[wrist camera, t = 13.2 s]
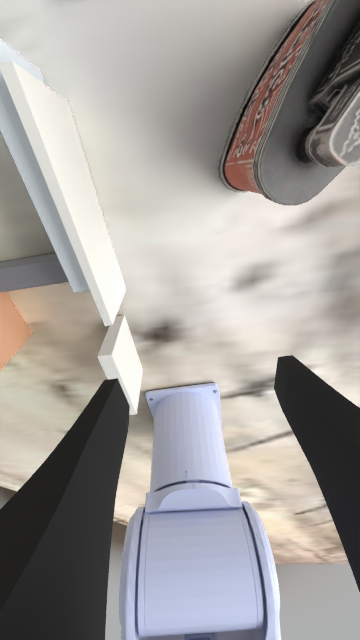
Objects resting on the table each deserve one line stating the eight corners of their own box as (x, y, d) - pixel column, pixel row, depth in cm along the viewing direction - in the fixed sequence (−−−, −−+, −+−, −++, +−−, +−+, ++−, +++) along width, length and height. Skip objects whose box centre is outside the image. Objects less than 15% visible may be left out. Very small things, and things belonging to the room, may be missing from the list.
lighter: (248, 202, 15) (352, 241, 6) (205, 172, 14) (261, 172, 5) (351, 41, 11) (931, -380, 3) (302, -17, 10) (987, -992, 2)
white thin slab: (150, 368, 23) (146, 413, 19) (133, 371, 23) (124, 415, 19) (68, 100, 12) (11, 60, 8) (35, 107, 12) (-38, 71, 8)
